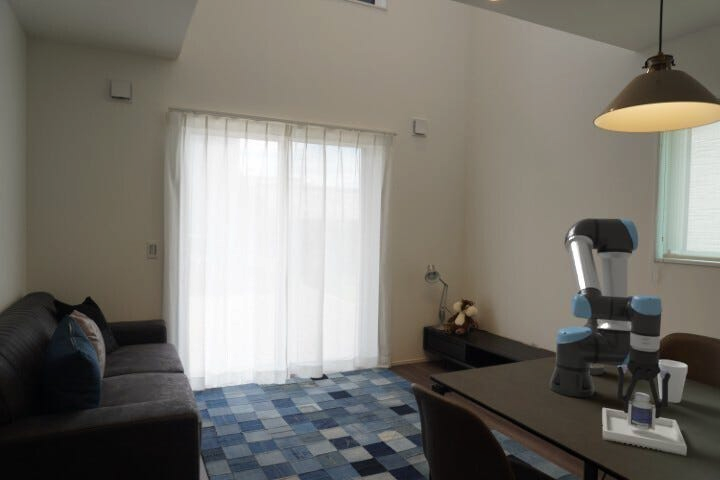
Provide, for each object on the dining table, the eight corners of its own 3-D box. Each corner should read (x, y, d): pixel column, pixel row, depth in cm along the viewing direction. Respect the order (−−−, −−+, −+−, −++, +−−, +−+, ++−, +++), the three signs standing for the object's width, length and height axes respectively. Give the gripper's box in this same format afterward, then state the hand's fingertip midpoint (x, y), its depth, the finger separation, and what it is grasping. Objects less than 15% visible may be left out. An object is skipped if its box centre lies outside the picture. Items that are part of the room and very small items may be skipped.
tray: (602, 439, 138) (603, 430, 138) (602, 415, 156) (602, 407, 156) (686, 455, 130) (686, 446, 129) (675, 428, 147) (675, 420, 147)
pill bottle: (654, 431, 140) (655, 398, 139) (633, 429, 141) (635, 396, 140) (647, 424, 145) (648, 392, 144) (627, 422, 146) (629, 390, 146)
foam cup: (686, 406, 166) (688, 369, 166) (654, 400, 171) (656, 364, 171) (685, 398, 174) (686, 362, 174) (654, 392, 179) (656, 358, 179)
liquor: (573, 368, 207) (576, 299, 206) (591, 367, 209) (594, 299, 208) (588, 375, 198) (591, 302, 197) (607, 374, 200) (610, 302, 199)
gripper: (609, 346, 143) (605, 424, 144) (683, 355, 135) (679, 437, 135) (608, 341, 149) (605, 415, 150) (679, 349, 141) (675, 427, 142)
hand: (640, 425), depth 143 cm, fingers closed on pill bottle, 5 cm apart
